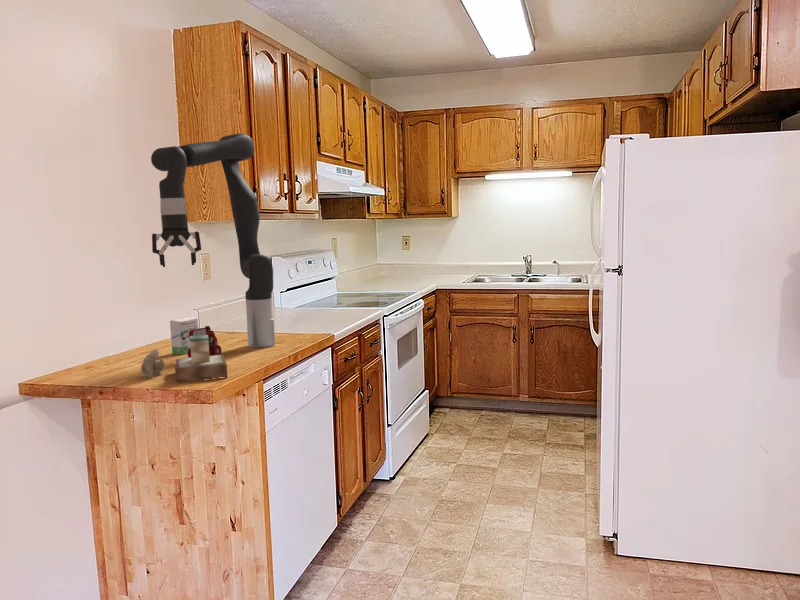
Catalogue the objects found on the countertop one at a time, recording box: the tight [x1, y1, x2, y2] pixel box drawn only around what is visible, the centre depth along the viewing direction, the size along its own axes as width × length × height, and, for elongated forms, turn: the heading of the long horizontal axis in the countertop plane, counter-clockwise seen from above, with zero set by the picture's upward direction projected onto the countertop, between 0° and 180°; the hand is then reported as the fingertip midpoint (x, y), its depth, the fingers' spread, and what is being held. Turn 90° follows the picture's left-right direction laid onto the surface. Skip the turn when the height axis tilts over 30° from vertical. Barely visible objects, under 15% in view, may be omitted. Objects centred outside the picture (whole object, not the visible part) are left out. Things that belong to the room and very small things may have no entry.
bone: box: [140, 348, 165, 380], centre depth 183 cm, size 9×6×10 cm
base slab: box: [174, 354, 228, 384], centre depth 183 cm, size 14×14×4 cm
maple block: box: [190, 335, 210, 363], centre depth 182 cm, size 5×5×7 cm
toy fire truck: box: [186, 325, 222, 358], centre depth 207 cm, size 7×12×10 cm, turn 157°
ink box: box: [169, 316, 199, 355], centre depth 217 cm, size 8×5×12 cm, turn 151°
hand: (178, 265), depth 193 cm, fingers open, 8 cm apart
